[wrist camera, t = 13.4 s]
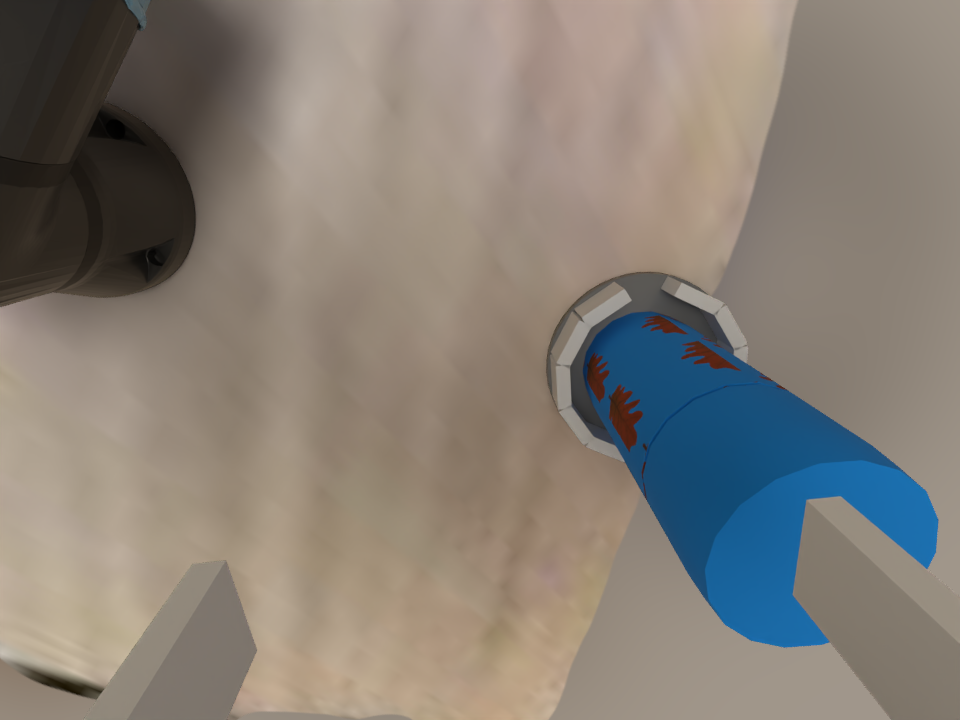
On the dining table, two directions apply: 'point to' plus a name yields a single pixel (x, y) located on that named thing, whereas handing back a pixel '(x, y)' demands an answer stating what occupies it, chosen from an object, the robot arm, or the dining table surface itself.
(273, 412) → the dining table surface
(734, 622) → the thermos
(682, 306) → the bayonet base
